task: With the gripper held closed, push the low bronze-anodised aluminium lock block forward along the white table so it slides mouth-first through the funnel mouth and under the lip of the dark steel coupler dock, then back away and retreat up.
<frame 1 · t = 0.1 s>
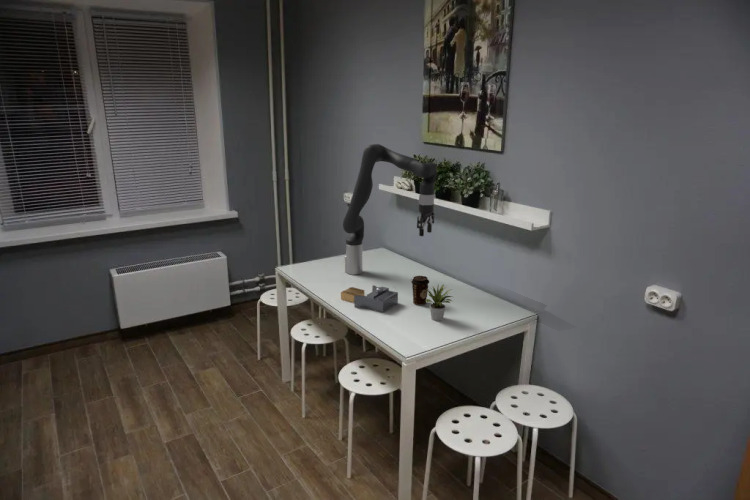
hand: (425, 234, 254), 29 cm above the table, fingers open, 8 cm apart
coffee cup: (419, 303, 243), on the table
house plant: (435, 319, 224), on the table
coupler dock: (379, 305, 240), on the table
lock block: (352, 298, 249), on the table
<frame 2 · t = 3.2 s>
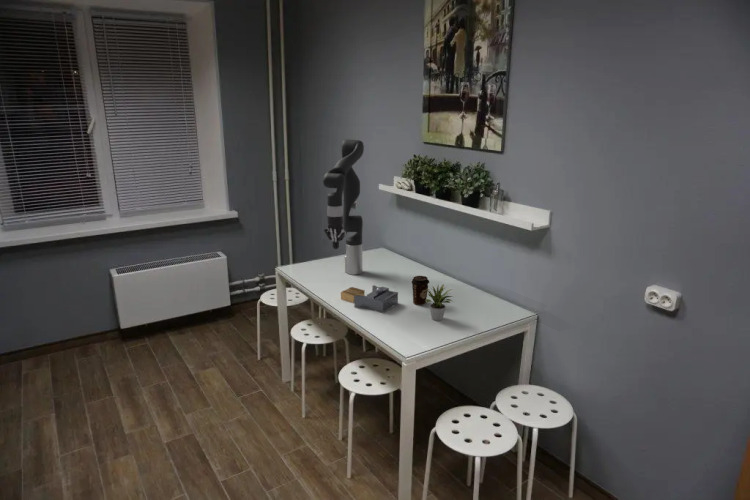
hand: (335, 248, 247), 24 cm above the table, fingers closed
nothing on the table moved.
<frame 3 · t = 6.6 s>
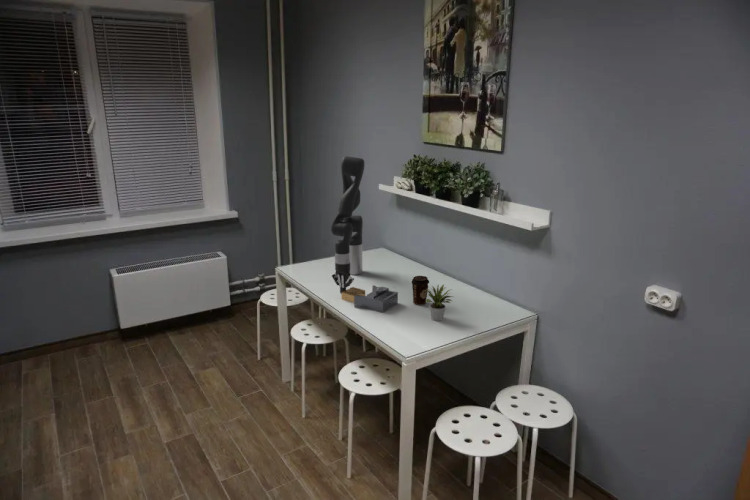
hand: (343, 293, 251), 1 cm above the table, fingers closed
nothing on the table moved.
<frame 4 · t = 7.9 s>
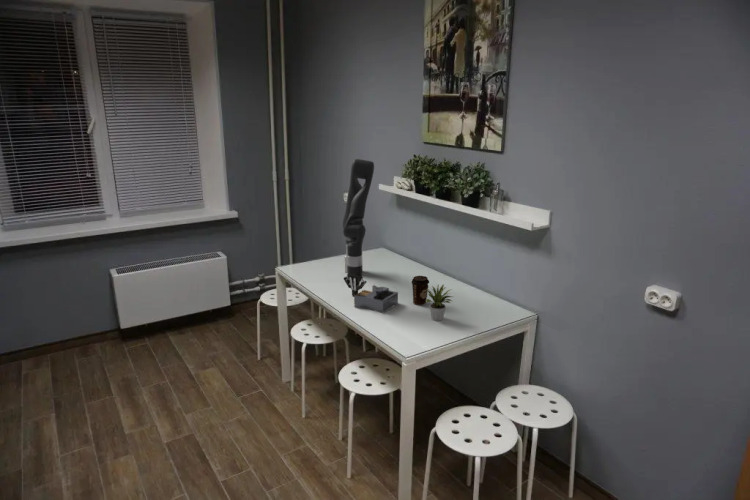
hand: (355, 296, 247), 1 cm above the table, fingers closed
lock block: (366, 301, 245), on the table
everything else where it was.
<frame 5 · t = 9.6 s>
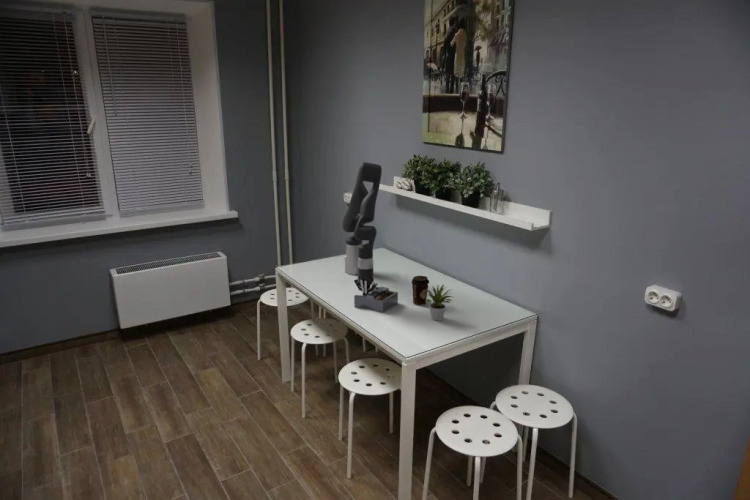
hand: (365, 299, 244), 1 cm above the table, fingers closed
lock block: (377, 304, 242), on the table
everything else where it was.
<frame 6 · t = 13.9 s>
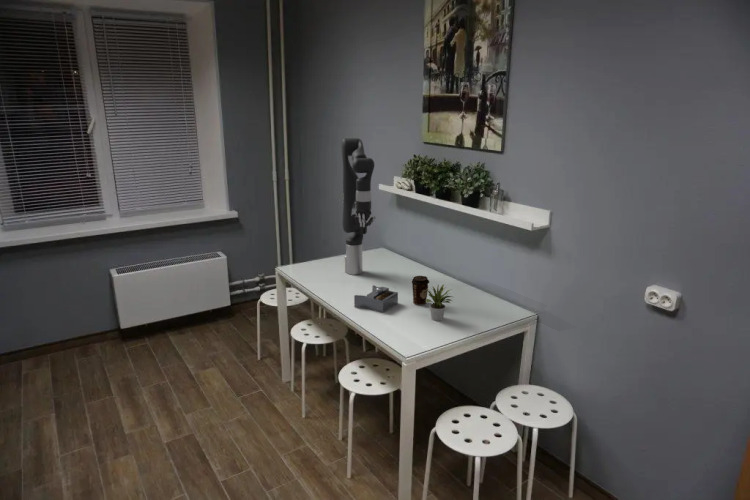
hand: (363, 233, 248), 31 cm above the table, fingers closed
nothing on the table moved.
at the end: lock block 0.8 cm from the target spot on the coupler dock, point 0.0 cm above the coupler dock's base; lock block tilted 0° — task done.
